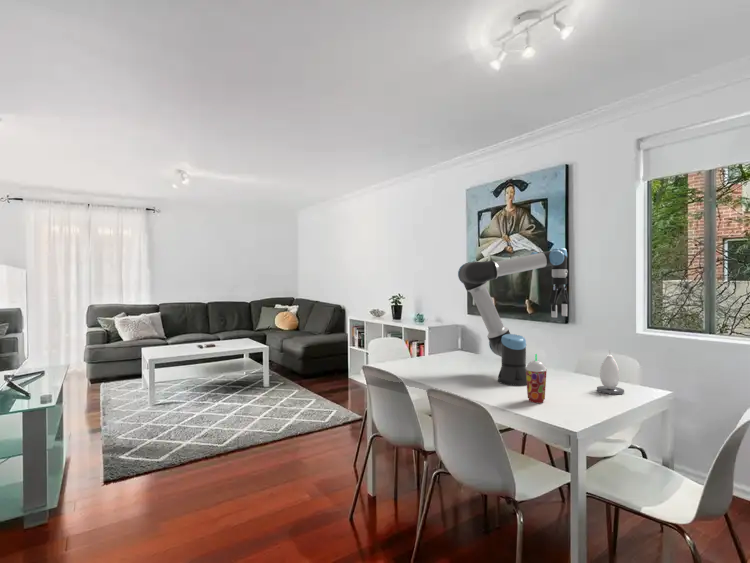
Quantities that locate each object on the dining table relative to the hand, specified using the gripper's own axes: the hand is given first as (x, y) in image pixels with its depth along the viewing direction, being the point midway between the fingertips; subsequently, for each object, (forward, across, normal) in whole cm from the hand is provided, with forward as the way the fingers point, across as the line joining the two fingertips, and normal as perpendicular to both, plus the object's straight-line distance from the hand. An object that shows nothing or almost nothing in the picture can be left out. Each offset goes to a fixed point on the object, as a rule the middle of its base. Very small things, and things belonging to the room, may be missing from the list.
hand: (559, 316), depth 230 cm
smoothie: (+32, -57, -13) cm, 67 cm away
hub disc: (+32, -17, -30) cm, 47 cm away
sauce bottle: (+31, -17, -30) cm, 46 cm away
